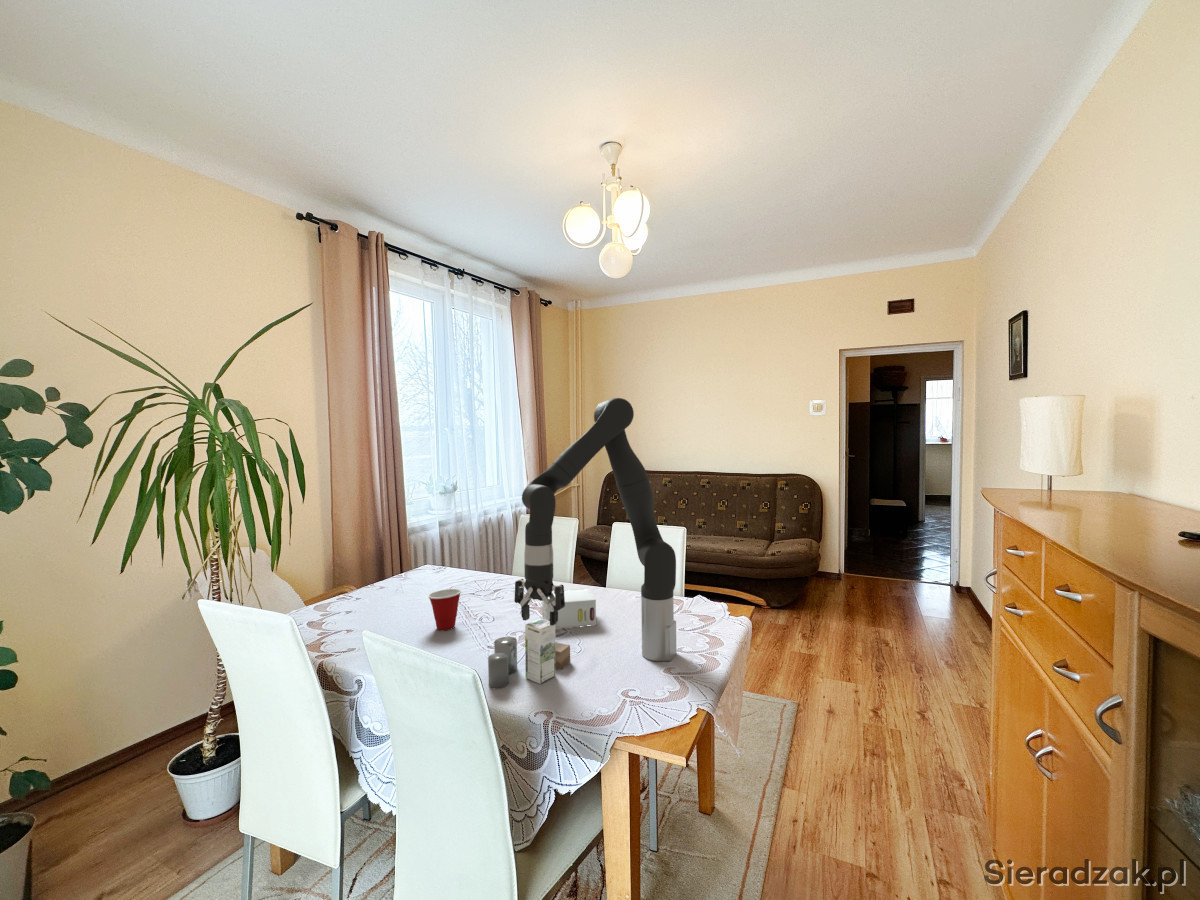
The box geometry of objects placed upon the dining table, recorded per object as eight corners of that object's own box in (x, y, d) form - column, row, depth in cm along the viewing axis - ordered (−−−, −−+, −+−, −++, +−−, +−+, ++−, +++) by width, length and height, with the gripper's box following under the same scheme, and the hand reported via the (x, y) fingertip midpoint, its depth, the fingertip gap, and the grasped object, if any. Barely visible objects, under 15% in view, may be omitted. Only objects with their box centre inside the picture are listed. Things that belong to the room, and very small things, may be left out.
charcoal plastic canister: (512, 681, 131) (511, 654, 130) (500, 690, 126) (499, 662, 126) (497, 677, 133) (496, 651, 133) (484, 686, 128) (484, 659, 128)
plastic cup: (448, 619, 177) (447, 585, 176) (468, 625, 170) (468, 590, 170) (421, 629, 168) (420, 593, 167) (442, 636, 161) (441, 599, 161)
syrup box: (541, 670, 137) (540, 617, 136) (556, 676, 133) (555, 622, 132) (525, 678, 132) (524, 623, 132) (540, 685, 128) (539, 628, 128)
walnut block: (570, 662, 141) (570, 645, 141) (561, 670, 137) (560, 652, 137) (555, 659, 143) (554, 642, 143) (545, 666, 139) (545, 648, 139)
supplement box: (546, 631, 164) (545, 603, 164) (542, 617, 177) (541, 591, 177) (596, 626, 168) (596, 598, 168) (589, 613, 181) (588, 587, 181)
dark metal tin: (521, 667, 138) (521, 638, 138) (508, 677, 133) (507, 647, 133) (504, 663, 141) (503, 635, 141) (490, 672, 136) (489, 643, 136)
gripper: (569, 560, 132) (570, 621, 132) (525, 554, 138) (525, 613, 139) (554, 567, 125) (554, 631, 126) (508, 560, 132) (508, 622, 132)
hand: (539, 622), depth 132 cm, fingers open, 8 cm apart
